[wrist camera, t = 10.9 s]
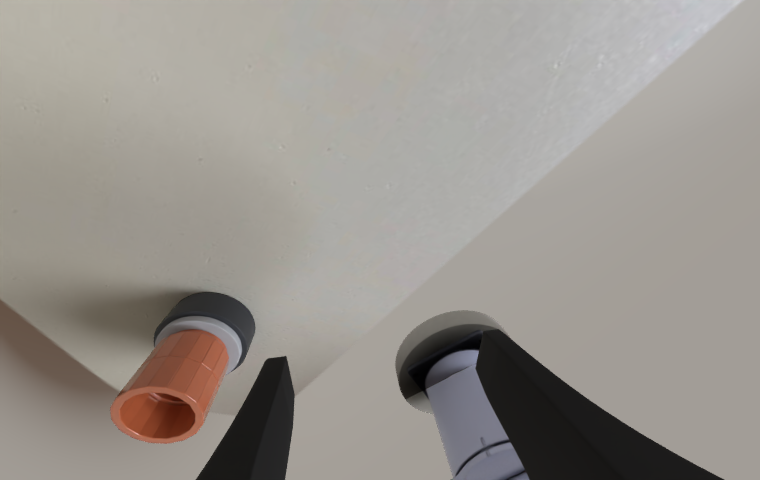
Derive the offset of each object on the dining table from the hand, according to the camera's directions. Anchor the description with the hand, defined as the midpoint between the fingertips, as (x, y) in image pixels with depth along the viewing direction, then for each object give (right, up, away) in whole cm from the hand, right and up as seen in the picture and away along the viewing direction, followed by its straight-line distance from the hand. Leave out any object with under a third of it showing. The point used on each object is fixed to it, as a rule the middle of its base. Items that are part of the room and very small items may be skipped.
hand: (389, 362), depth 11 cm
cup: (-12, -2, +7) cm, 14 cm away
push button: (-12, -1, +10) cm, 15 cm away
